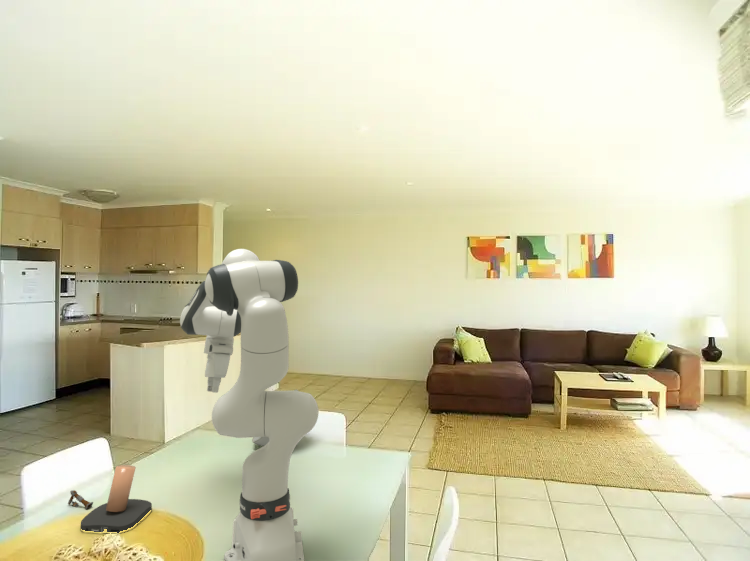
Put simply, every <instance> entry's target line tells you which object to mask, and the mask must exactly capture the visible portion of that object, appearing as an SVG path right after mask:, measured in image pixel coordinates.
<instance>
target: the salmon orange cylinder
mask: <svg viewBox="0 0 750 561" xmlns="http://www.w3.org/2000/svg"><path fill="white" fill-rule="evenodd" d="M136 468H137V467H136V466H135V465H129V464H122V465H116V466H115V470H114V474H113V478H112V483H111V486H110V489H109V490H110V491H109V495H108V500H107V502H106V503H107V506H106V510H107V511H110V512H120V511H124V510H126V507H127V503H128V499H130V498H129V497H130V494H131V489H132V485H133V481H134V477H135V472H136Z"/></svg>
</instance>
